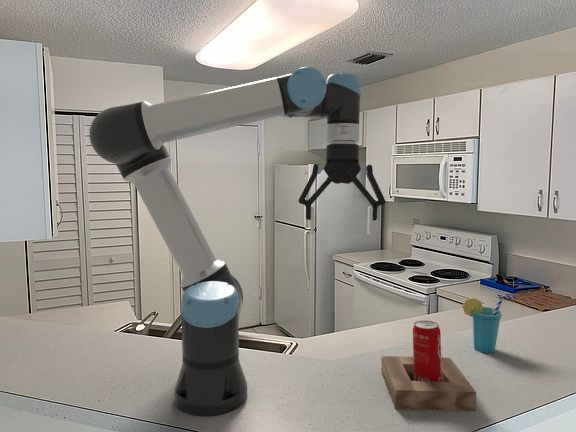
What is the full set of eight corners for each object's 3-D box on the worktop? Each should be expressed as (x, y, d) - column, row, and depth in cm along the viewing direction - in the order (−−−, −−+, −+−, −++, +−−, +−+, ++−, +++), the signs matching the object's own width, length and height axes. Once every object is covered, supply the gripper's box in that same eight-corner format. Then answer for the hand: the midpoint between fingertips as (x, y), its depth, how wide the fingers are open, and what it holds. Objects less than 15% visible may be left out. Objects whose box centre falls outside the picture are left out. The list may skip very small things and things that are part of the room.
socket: (395, 408, 89) (395, 390, 88) (381, 372, 105) (381, 356, 104) (475, 411, 88) (476, 392, 88) (449, 373, 104) (449, 357, 104)
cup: (503, 342, 123) (506, 290, 121) (520, 354, 115) (524, 298, 114) (455, 344, 121) (458, 291, 120) (469, 356, 114) (472, 300, 112)
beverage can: (443, 398, 93) (446, 330, 91) (411, 395, 94) (414, 327, 92) (439, 384, 99) (442, 320, 97) (409, 382, 100) (412, 318, 98)
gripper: (288, 142, 99) (287, 235, 101) (400, 142, 98) (397, 237, 100) (289, 144, 106) (288, 231, 108) (393, 144, 105) (390, 232, 108)
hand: (340, 234), depth 104 cm, fingers open, 13 cm apart
